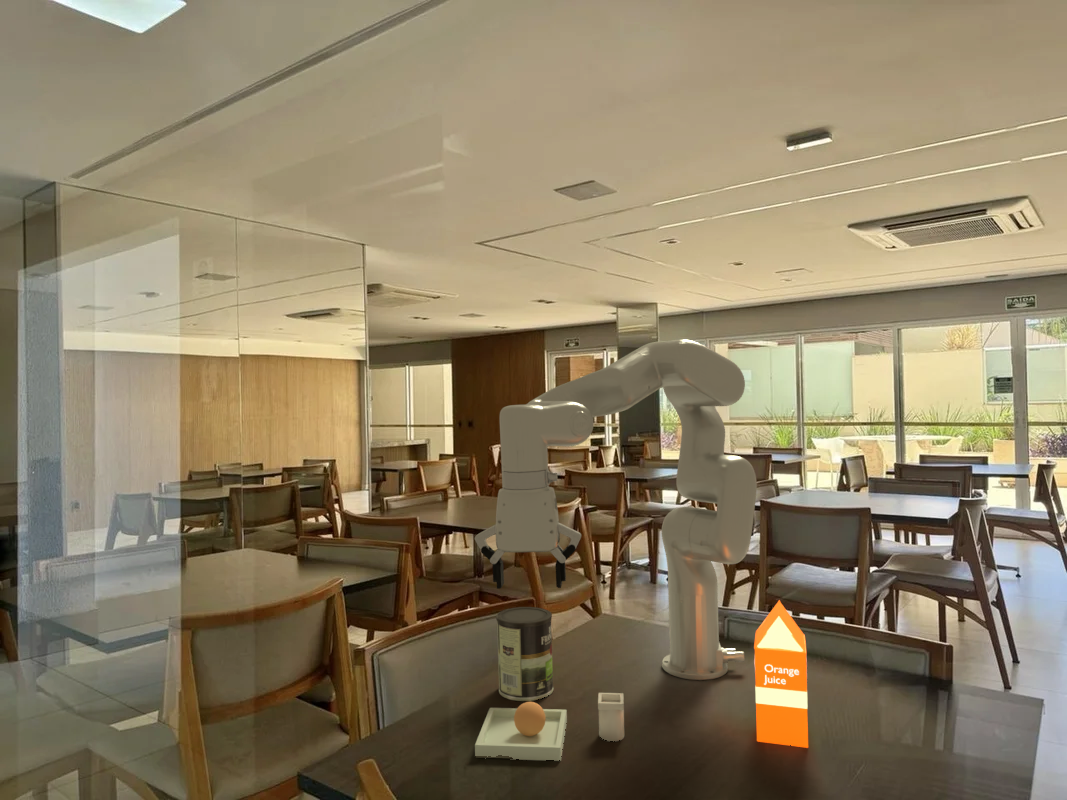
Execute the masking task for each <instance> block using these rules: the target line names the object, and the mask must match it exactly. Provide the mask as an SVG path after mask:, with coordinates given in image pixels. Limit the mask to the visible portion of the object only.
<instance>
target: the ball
mask: <svg viewBox="0 0 1067 800" xmlns="http://www.w3.org/2000/svg"><path fill="white" fill-rule="evenodd" d="M516 708H517V710H516V712H515V715H514V723H515V726H516V728H517V730H518V731H519V732H520V733H522V734H523V735H526V736H534V735H536V734H538V733H539V732H540V731H541V730H542V729H543V727H544V725H545V720H546V718H545V713H544V710H543V709H544V708H543V707H542V706H541V705H540V704H538V703H537V702H534V701H524V702H523V703H521V704H520V705H519V706H517V707H516Z"/></svg>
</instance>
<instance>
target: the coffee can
mask: <svg viewBox="0 0 1067 800" xmlns="http://www.w3.org/2000/svg"><path fill="white" fill-rule="evenodd" d="M552 615H553V614H552V612H551V611H550V610H548V609H545V608H541V607H536V606H535V607H534V606H518V607H512V608H507V609H504V610H500V611H499V612H498V613H497V614H496V615H495V616H496V617H495V618H496V622H497V624H496V626H497V627H496V628H497V629H496V630H497V660H498V661H497V662H498V693H499V695H500V696H501V697H503V698H505V699H507V700H510V701H515V702H516V701H517V702H534V701H538V699H539V700H542V698H543V699H545V698H548V697H549V696H551V694H552V693H553V691H554V679H553V677H554V676H553V673H554V671H553V669H554V668H553V643H552V642H553V641H552V640H553V635H552ZM548 695H549V696H548ZM544 697H545V698H544Z"/></svg>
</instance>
